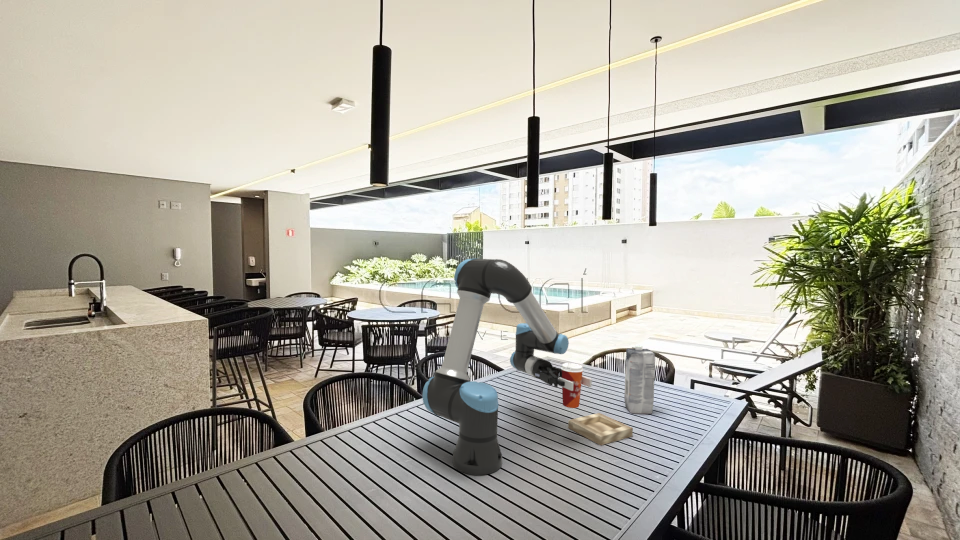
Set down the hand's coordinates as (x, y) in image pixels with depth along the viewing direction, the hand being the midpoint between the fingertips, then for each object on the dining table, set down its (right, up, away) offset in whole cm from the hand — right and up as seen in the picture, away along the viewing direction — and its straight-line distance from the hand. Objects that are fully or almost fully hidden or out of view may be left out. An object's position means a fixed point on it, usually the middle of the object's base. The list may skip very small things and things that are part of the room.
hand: (581, 384), depth 139 cm
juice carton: (+32, -21, +34) cm, 51 cm away
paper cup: (-3, -9, +4) cm, 10 cm away
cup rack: (+9, -21, +11) cm, 25 cm away
